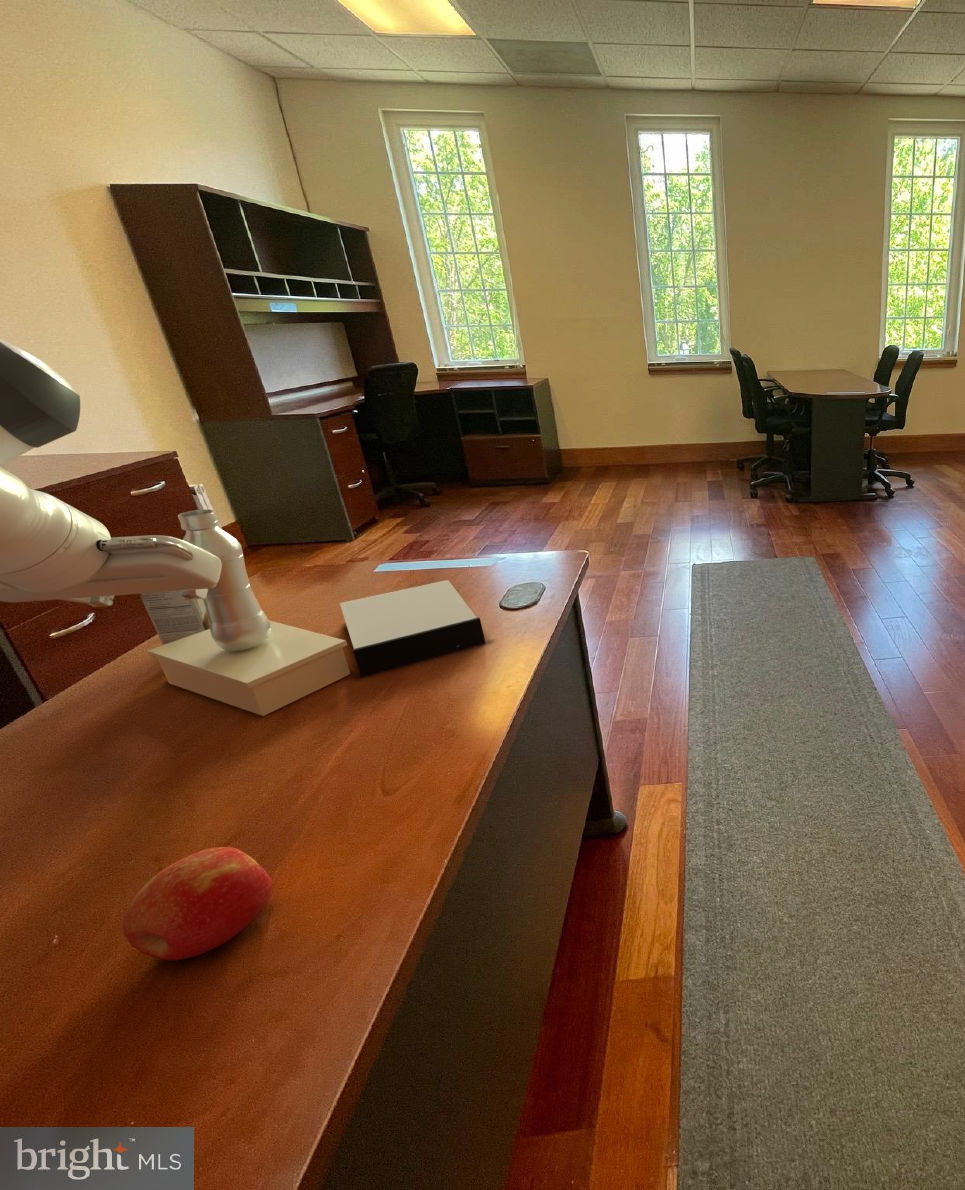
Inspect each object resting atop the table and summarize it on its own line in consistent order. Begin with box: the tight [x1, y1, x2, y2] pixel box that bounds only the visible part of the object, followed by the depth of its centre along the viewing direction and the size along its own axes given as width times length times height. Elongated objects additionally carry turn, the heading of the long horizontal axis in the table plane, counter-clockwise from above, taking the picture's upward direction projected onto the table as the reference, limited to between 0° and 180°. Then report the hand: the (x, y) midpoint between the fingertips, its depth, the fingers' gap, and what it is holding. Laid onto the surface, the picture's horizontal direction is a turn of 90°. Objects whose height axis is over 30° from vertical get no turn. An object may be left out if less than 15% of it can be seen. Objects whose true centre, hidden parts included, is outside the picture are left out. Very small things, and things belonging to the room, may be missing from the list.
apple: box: [122, 846, 273, 961], centre depth 52 cm, size 8×8×8 cm
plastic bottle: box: [177, 508, 271, 651], centre depth 85 cm, size 6×7×20 cm
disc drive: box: [339, 579, 486, 678], centre depth 104 cm, size 18×22×5 cm
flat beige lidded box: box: [147, 619, 351, 717], centre depth 90 cm, size 23×13×6 cm, turn 68°
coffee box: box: [138, 591, 210, 645], centre depth 97 cm, size 9×6×16 cm
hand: (154, 597), depth 73 cm, fingers open, 8 cm apart
